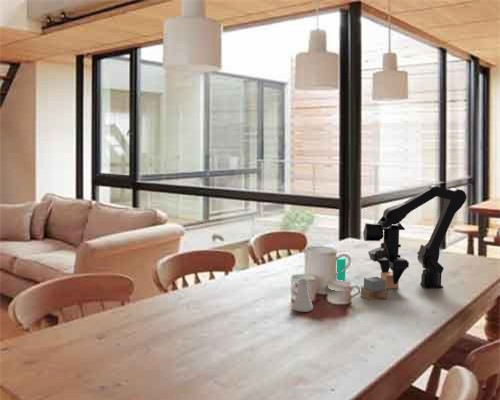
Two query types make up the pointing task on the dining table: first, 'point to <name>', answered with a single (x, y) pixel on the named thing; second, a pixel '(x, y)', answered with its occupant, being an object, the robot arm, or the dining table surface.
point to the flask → (302, 298)
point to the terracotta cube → (389, 279)
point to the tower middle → (374, 284)
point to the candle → (341, 268)
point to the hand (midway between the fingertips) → (389, 280)
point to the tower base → (373, 294)
